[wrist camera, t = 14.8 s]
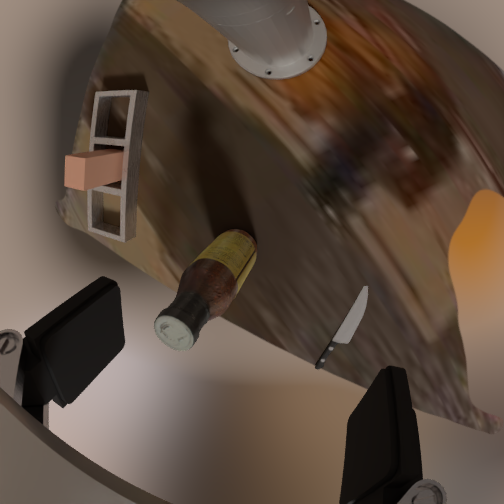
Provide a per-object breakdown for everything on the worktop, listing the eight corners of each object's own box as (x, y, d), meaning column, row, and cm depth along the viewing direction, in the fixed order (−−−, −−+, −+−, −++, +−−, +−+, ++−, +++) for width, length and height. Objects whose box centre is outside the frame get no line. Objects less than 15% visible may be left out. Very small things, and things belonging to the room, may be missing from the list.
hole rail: (107, 92, 38) (95, 91, 35) (148, 91, 36) (137, 89, 34) (99, 225, 47) (88, 230, 45) (135, 236, 46) (125, 242, 43)
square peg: (110, 148, 41) (65, 155, 32) (130, 151, 41) (85, 158, 32) (108, 174, 43) (64, 186, 34) (128, 178, 42) (83, 190, 34)
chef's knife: (387, 280, 38) (369, 273, 38) (388, 284, 37) (371, 276, 37) (329, 370, 46) (313, 365, 46) (329, 375, 45) (313, 370, 45)
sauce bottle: (213, 230, 42) (129, 297, 24) (254, 224, 40) (189, 295, 22) (223, 272, 44) (154, 356, 26) (263, 268, 42) (211, 361, 24)
